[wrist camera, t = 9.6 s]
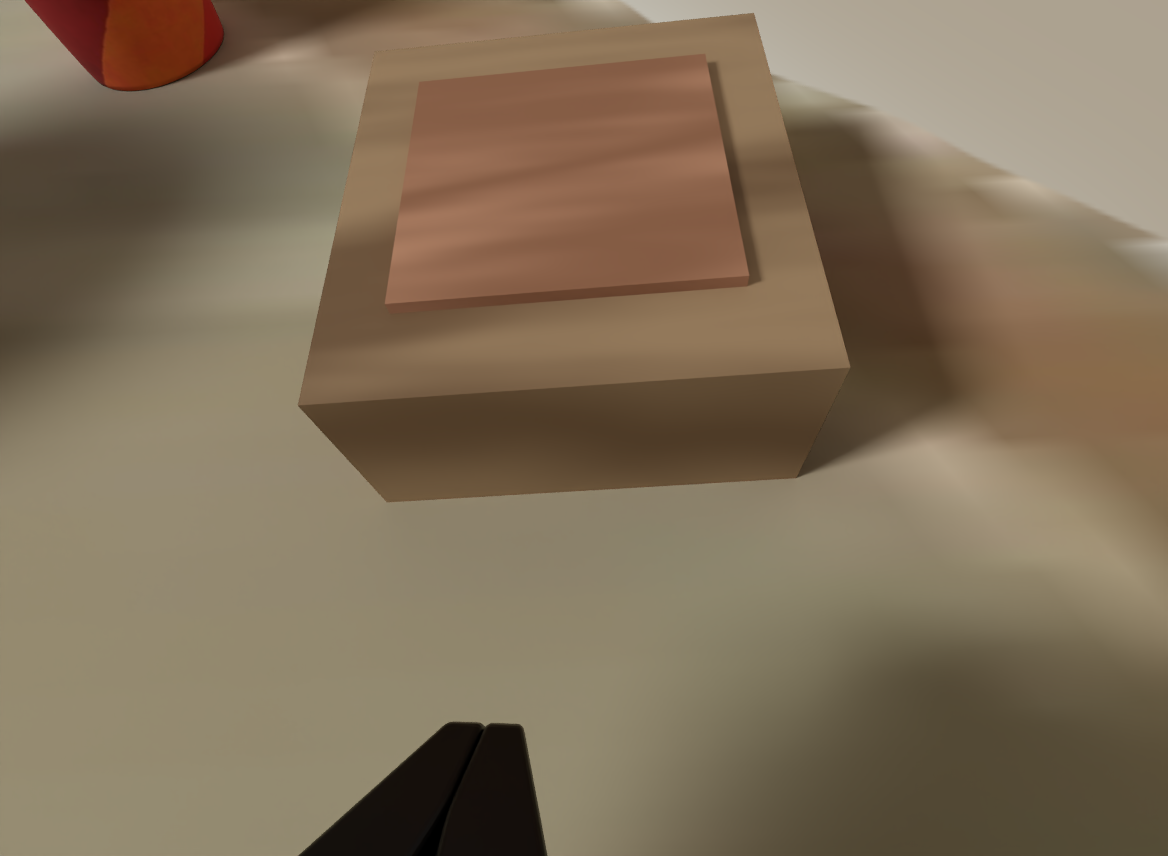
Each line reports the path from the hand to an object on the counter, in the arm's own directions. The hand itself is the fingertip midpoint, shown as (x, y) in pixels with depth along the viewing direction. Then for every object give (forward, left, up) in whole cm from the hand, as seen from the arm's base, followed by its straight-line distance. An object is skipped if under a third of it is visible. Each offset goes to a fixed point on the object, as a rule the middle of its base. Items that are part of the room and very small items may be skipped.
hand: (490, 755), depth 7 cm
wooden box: (+5, -2, -4) cm, 7 cm away
